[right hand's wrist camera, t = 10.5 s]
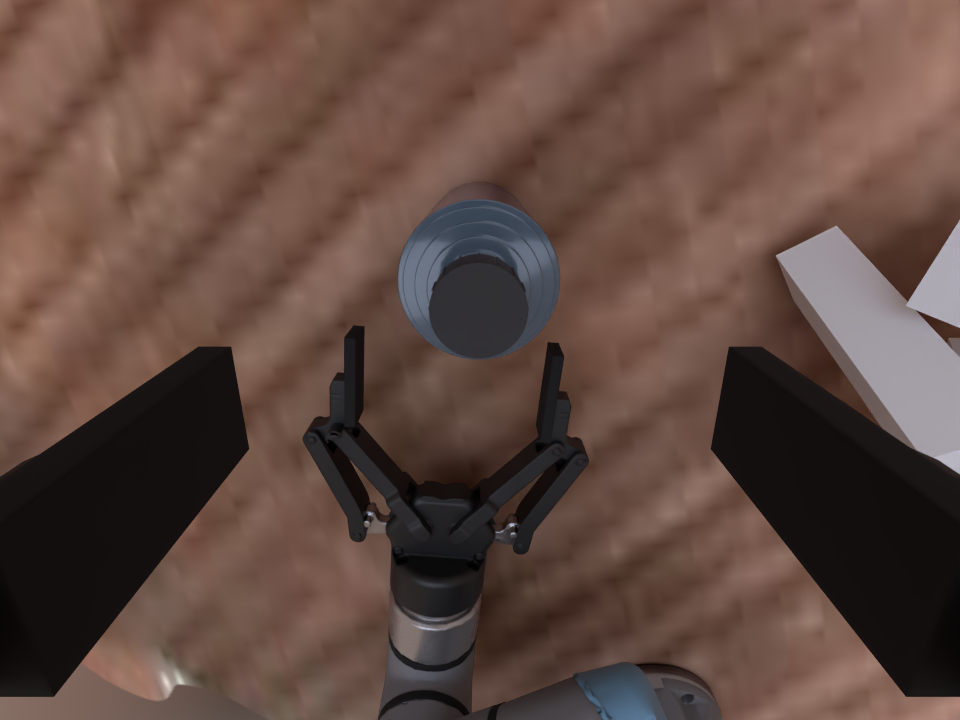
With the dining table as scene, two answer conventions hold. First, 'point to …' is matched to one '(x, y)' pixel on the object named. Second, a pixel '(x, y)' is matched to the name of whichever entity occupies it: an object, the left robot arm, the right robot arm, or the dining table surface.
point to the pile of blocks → (887, 336)
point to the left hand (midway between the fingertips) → (455, 339)
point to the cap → (478, 306)
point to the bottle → (486, 230)
